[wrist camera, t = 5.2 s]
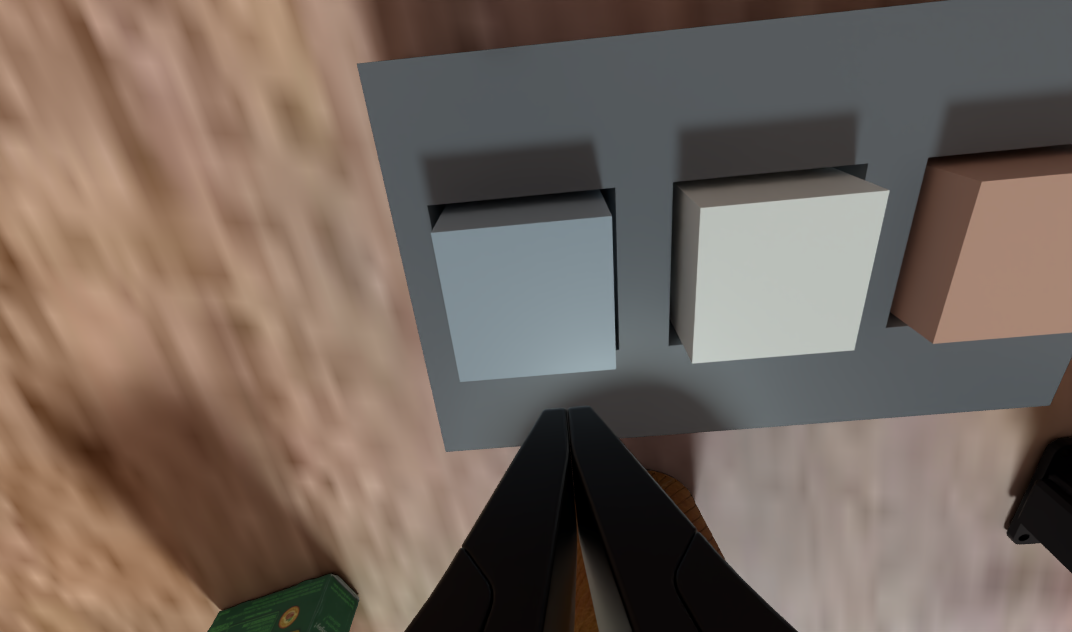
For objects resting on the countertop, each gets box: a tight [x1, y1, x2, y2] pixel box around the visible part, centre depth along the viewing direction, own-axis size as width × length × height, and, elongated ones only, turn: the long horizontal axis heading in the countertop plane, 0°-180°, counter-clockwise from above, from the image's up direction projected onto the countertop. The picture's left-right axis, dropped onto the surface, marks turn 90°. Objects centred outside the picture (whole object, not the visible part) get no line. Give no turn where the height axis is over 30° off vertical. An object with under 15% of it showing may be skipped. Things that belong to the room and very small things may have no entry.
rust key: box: [890, 144, 1072, 344], centre depth 15 cm, size 4×4×4 cm
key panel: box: [357, 0, 1072, 452], centre depth 17 cm, size 20×12×4 cm, turn 95°
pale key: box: [669, 167, 890, 364], centre depth 15 cm, size 4×4×4 cm
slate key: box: [431, 189, 616, 382], centre depth 15 cm, size 4×4×4 cm
